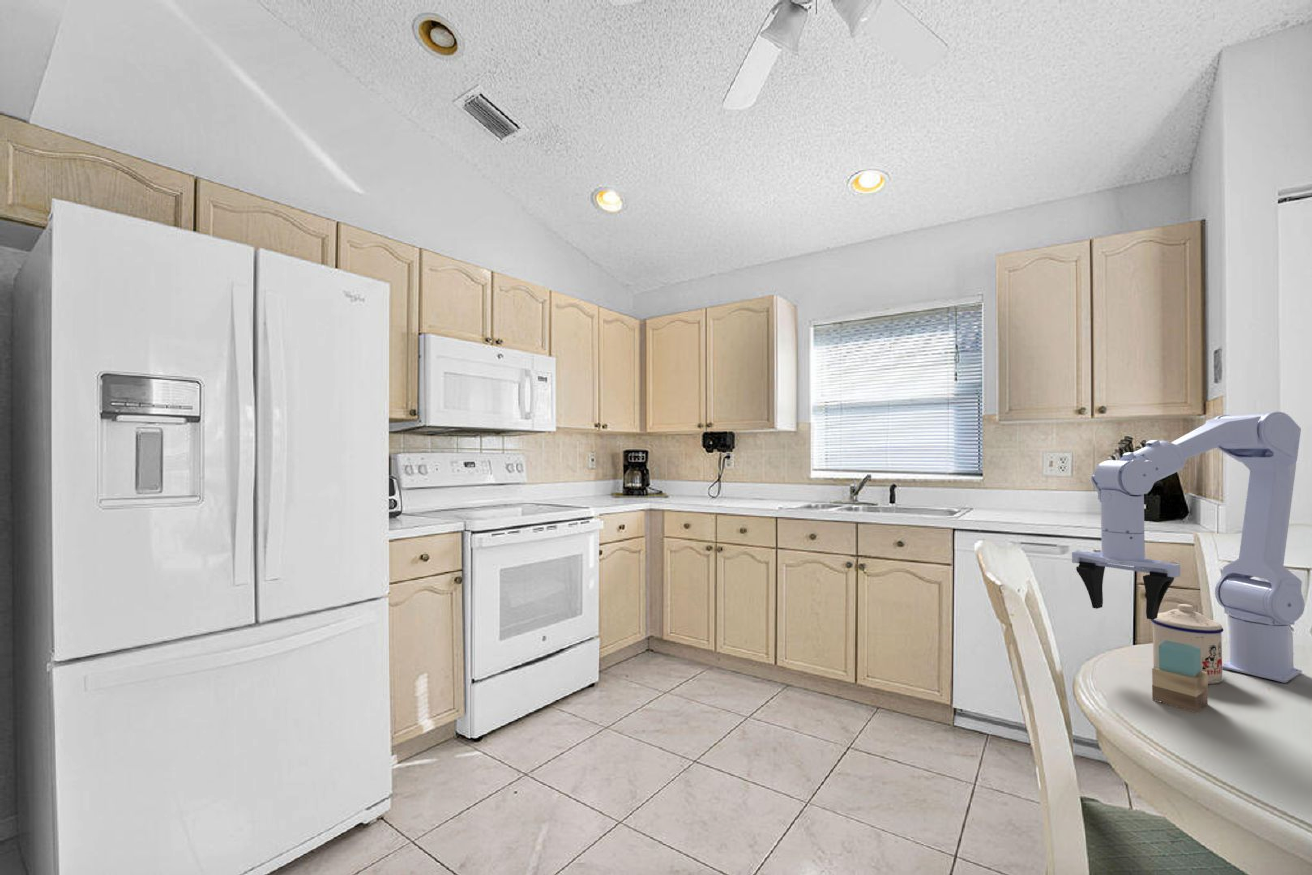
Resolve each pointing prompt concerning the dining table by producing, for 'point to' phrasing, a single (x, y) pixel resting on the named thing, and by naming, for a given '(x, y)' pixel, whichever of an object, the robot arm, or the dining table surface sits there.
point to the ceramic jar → (1191, 637)
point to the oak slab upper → (1180, 681)
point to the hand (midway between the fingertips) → (1123, 612)
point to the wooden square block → (1180, 699)
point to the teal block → (1180, 658)
